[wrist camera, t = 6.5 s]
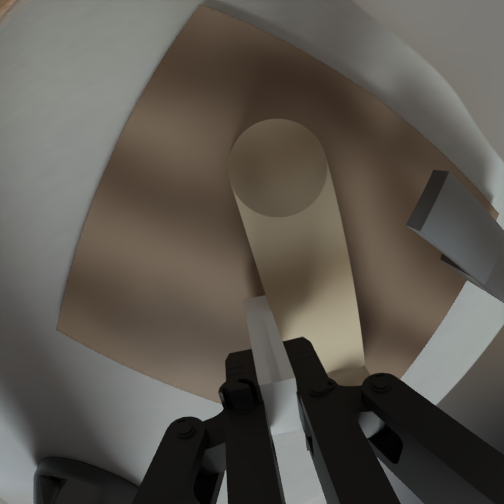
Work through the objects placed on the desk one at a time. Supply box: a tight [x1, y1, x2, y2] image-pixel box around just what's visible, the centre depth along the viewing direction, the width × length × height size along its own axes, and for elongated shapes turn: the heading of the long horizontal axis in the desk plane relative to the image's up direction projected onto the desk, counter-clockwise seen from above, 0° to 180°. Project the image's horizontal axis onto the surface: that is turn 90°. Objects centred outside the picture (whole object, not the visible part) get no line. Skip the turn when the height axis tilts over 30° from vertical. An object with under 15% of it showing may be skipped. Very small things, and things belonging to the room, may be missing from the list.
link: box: [228, 119, 370, 386], centre depth 14 cm, size 18×5×4 cm, turn 17°
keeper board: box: [57, 5, 504, 404], centre depth 15 cm, size 20×23×5 cm
